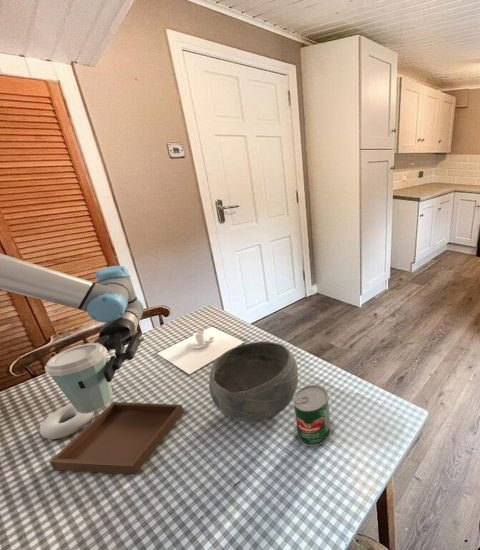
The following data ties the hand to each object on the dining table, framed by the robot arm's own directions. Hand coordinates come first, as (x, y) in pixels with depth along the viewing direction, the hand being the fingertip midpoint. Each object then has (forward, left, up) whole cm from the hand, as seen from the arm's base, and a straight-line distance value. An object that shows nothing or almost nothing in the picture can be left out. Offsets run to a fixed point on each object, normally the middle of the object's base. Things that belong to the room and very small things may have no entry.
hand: (94, 380), depth 68 cm
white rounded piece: (+1, +34, -16) cm, 38 cm away
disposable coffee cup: (-5, +2, -10) cm, 11 cm away
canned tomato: (+48, +2, -16) cm, 51 cm away
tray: (+3, -2, -16) cm, 16 cm away
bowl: (+32, +9, -16) cm, 37 cm away
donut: (-14, +1, -16) cm, 21 cm away
